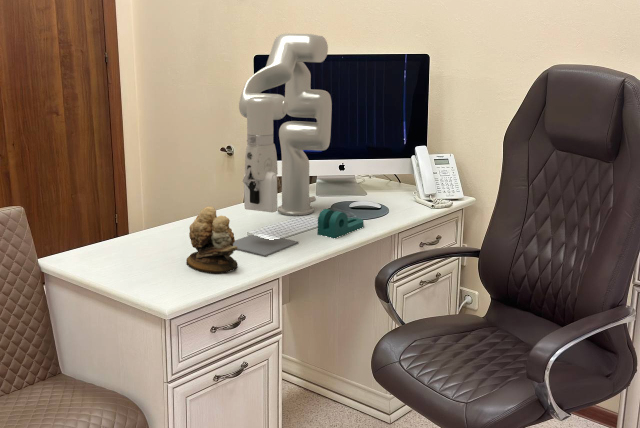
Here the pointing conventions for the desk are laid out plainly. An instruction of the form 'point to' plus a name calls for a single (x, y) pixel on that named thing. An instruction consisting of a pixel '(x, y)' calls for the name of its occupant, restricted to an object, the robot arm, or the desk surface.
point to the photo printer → (263, 194)
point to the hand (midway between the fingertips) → (260, 200)
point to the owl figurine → (212, 243)
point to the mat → (263, 245)
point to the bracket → (336, 223)
